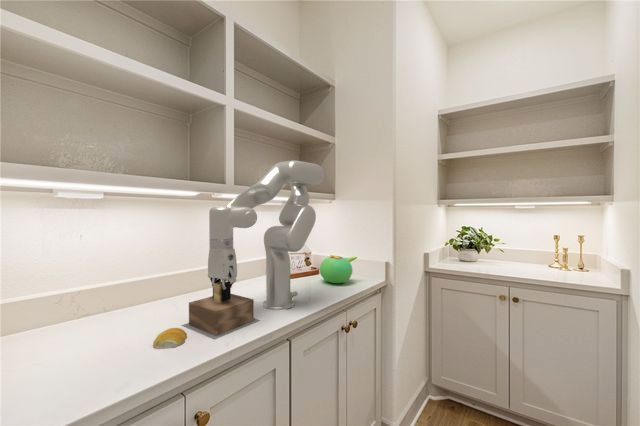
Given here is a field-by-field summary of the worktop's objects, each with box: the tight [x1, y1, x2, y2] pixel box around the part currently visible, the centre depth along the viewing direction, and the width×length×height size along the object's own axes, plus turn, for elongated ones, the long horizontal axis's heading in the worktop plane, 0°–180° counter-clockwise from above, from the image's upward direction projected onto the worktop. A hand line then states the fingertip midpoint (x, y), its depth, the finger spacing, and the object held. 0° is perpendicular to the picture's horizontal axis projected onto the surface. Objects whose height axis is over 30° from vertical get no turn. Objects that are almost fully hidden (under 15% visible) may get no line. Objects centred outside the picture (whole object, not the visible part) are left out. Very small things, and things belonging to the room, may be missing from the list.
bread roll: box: [152, 327, 188, 350], centre depth 84 cm, size 8×9×4 cm
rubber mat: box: [181, 318, 262, 340], centre depth 97 cm, size 18×18×1 cm
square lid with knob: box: [188, 281, 255, 336], centre depth 97 cm, size 15×15×13 cm
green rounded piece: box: [319, 254, 358, 284], centre depth 154 cm, size 18×17×15 cm
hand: (221, 298), depth 97 cm, fingers open, 3 cm apart
